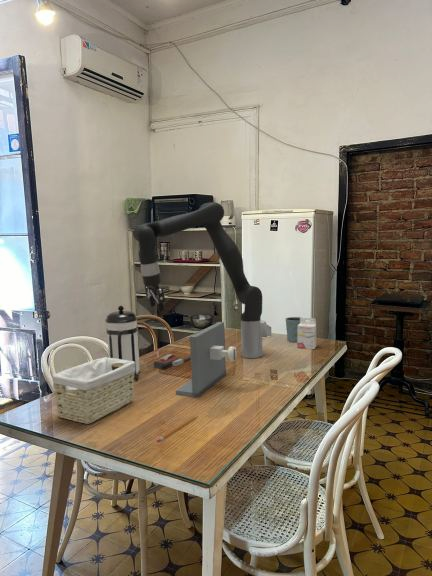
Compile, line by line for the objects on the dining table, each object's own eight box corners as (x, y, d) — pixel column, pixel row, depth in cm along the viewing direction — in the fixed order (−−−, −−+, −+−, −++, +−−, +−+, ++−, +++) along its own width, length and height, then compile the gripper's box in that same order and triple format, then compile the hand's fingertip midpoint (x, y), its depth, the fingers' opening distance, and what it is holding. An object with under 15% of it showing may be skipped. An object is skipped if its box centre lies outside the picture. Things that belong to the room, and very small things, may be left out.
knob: (237, 359, 161) (237, 345, 161) (232, 363, 156) (231, 348, 155) (223, 358, 164) (222, 343, 163) (217, 362, 158) (216, 347, 158)
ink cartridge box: (297, 348, 212) (296, 319, 210) (299, 345, 216) (299, 317, 214) (314, 349, 208) (314, 320, 206) (316, 347, 212) (316, 318, 211)
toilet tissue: (275, 336, 238) (274, 321, 237) (254, 339, 232) (254, 324, 231) (266, 333, 246) (266, 318, 245) (246, 336, 240) (245, 321, 239)
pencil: (159, 442, 120) (199, 417, 135) (158, 439, 120) (198, 414, 136) (157, 443, 120) (197, 418, 136) (156, 439, 120) (195, 415, 136)
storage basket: (105, 393, 159) (102, 355, 157) (139, 400, 151) (137, 360, 149) (52, 418, 138) (49, 374, 136) (89, 428, 130) (85, 381, 128)
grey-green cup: (297, 344, 219) (296, 321, 218) (281, 340, 227) (281, 318, 226) (309, 340, 226) (308, 318, 225) (293, 337, 234) (293, 315, 232)
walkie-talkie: (166, 371, 183) (194, 359, 200) (166, 361, 183) (193, 350, 199) (151, 368, 188) (179, 357, 205) (150, 359, 188) (178, 348, 204)
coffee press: (97, 379, 175) (92, 307, 172) (129, 369, 187) (125, 301, 183) (121, 388, 164) (116, 311, 160) (154, 377, 175) (150, 305, 172)
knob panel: (235, 375, 174) (233, 322, 171) (208, 398, 150) (206, 337, 147) (206, 372, 179) (204, 321, 176) (176, 394, 155) (173, 335, 153)
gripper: (166, 273, 175) (172, 309, 180) (151, 267, 187) (158, 302, 192) (149, 278, 171) (156, 315, 177) (135, 272, 183) (142, 307, 188)
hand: (157, 308), depth 184 cm, fingers open, 8 cm apart
